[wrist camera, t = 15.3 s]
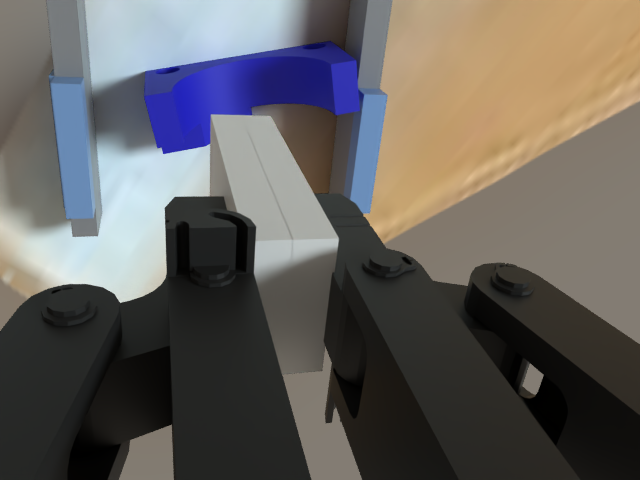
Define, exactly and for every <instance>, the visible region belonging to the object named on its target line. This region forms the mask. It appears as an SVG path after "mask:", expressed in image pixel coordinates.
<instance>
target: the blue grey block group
mask: <svg viewBox="0 0 640 480" xmlns="http://www.w3.org/2000/svg"><path fill="white" fill-rule="evenodd" d="M46 4H47V13H48V21H49V31H50V40H51V49H52V58H53V66H54V69H53V70H52V72H51V73H50V75H49V83H50V91H51V100H52V108H53V117H54V126H55V134H56V143H57V151H58V160H59V168H60V177H61V185H62V194H63V202H64V208H65V212H66V219H71V226H72V235H73V237H81V236H98V233H99V228H100V222H101V216H102V204H101V192H100V180H99V169H98V157H97V145H96V133H95V121H94V109H93V98H92V86H91V74H90V62H89V50H88V38H87V26H86V15H85V3H84V0H46ZM391 6H392V0H350V8H349V17H348V26H347V35H346V44H345V52H346V53H347V54H349V55H350V56H351V57H353V58H354V59H355V60H356V64H357V78H358V92H359V105H360V111H356V112H351V113H346V114H340V115H337V123H336V132H335V141H334V150H333V159H332V168H331V177H330V185H329V194H331V193H340V194H342V195H343V196H345V197H346V198H348V199H350V200H351V201H353V202H354V203H356V205H357V206H358V208H359V209H360V210H361V212H362V213H370V208H371V202H372V195H373V188H374V182H375V175H376V168H377V162H378V155H379V149H380V142H381V135H382V129H383V122H384V115H385V109H386V102H387V96H388V95H387V94H385V93H384V92H383V91H382V90H380V83H381V76H382V69H383V62H384V55H385V48H386V41H387V34H388V27H389V20H390V13H391Z"/></svg>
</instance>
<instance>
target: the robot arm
mask: <svg viewBox="0 0 640 480" xmlns="http://www.w3.org/2000/svg"><path fill="white" fill-rule="evenodd" d="M165 228H166V262H167V275H166V279H165V280H164V282H163V283H162V284H161V285H160V286H159V287H158V288H157V289H156V290H154V291H153V292H151V293H149V294H147V295H145V296H143V297H140V298H137V299H134V300H131V301H127V302H123V303H120V302H119V301H118V299H117V298H116V296H115V294H113V293H112V292H110V291H108V290H106V289H104V288H103V287H98V286H93V285H88V284H68V285H61V286H57V287H53V288H50V289H47V290H44V291H42V292H40V293H38V294H36V295H33V296H31V297H30V298H29V299H28V300H27V301H25V302H24V303H23V304H22V305H21V306H20V307H19V308H18V309H17V311H16V312H15V313H14V314H13V316H12V317H11V318H10V319H9V321H8V322H7V323H6V324H5V326H4V327H3V328H2V330H1V331H0V480H119V477H120V474H121V472H122V469H123V466H124V463H125V461H126V458H127V455H128V452H129V445H130V440H131V439H134V438H137V437H139V436H142V435H145V434H147V433H150V432H153V431H155V430H158V429H161V428H164V427H166V426H169V425H172V442H173V468H174V480H311V477H310V474H309V470H308V466H307V463H306V459H305V455H304V452H303V448H302V445H301V441H300V437H299V434H298V430H297V427H296V423H295V419H294V416H293V412H292V409H291V405H290V401H289V398H288V394H287V391H286V387H285V383H284V380H283V376H282V374H292V373H304V372H315V371H322V368H323V360H324V352H325V346H326V349H327V351H328V354H329V357H330V359H331V362H332V366H331V373H330V380H329V388H328V395H327V403H326V410H325V420H326V423H331V422H332V417H333V410H334V409H335V407H336V408H337V411H338V414H339V416H340V421H341V422H342V425H343V427H344V430H345V433H346V436H347V439H348V441H349V444H350V447H351V449H352V452H353V455H354V458H355V461H356V463H357V466H358V469H359V472H360V475H361V477H362V480H640V344H638V343H637V342H635V341H634V340H632V339H631V338H630V337H628V336H627V335H625V334H624V333H622V332H620V331H619V330H618V329H616V328H615V327H613V326H612V325H610V324H609V323H607V322H606V321H604V320H603V319H601V318H600V317H598V316H597V315H596V314H594V313H593V312H591V311H590V310H588V309H587V308H585V307H584V306H582V305H580V304H579V303H578V302H576V301H575V300H573V299H572V298H571V297H569V296H568V295H566V294H565V293H563V292H562V291H560V290H559V289H557V288H556V287H554V286H553V285H551V284H550V283H548V282H547V281H545V280H544V279H543V278H541V277H539V276H538V275H536V274H534V273H532V272H530V271H528V270H526V269H523V268H520V267H517V266H516V265H513V264H508V263H507V264H505V263H491V264H483V265H481V266H478V267H476V268H475V269H474V270H473V272H472V273H471V276H470V280H469V284H468V286H464V285H457V284H449V283H442V282H437V281H433V280H432V279H431V278H430V276H429V275H428V274H427V272H426V271H425V270H424V268H423V267H422V266H421V265H420V264H419V263H418V262H417V261H416V260H415V259H414V258H412V257H410V256H408V255H406V254H404V253H402V252H399V251H395V250H390V249H387V248H386V247H385V246H384V244H383V243H382V241H381V240H380V238H379V237H378V235H377V234H376V232H375V231H374V230H373V228H372V227H371V226H370V224H369V222H368V221H367V219H366V218H365V217H363V213H362V212H361V210H360V209H359V208H358V206H357V205H356V203H354V202H353V201H351V200H350V199H348V198H346V197H345V196H343V195H342V194H340V193H331V194H314V193H313V191H312V189H311V188H310V186H309V184H308V182H307V180H306V179H305V177H304V175H303V173H302V171H301V170H300V168H299V166H298V164H297V163H296V161H295V159H294V157H293V155H292V154H291V152H290V150H289V148H288V146H287V145H286V143H285V141H284V139H283V137H282V136H281V134H280V132H279V130H278V128H277V127H276V125H275V123H274V121H273V120H272V118H271V116H255V115H214V114H211V131H210V196H209V197H174V198H173V200H172V201H171V202H170V203H169V204H168V205H167V206H166V207H165ZM530 363H531V364H532V365H533V366H534V367H535V368H536V369H538V370H539V371H540V372H541V373H542V374H544V376H543V379H542V382H541V385H540V388H539V390H538V393H537V394H536V395H534V394H531V393H530V392H529V391H527V390H526V389H525V388H524V387H522V385H523V382H524V379H525V376H526V373H527V370H528V367H529V364H530Z"/></svg>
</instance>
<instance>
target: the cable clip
mask: <svg viewBox="0 0 640 480" xmlns="http://www.w3.org/2000/svg"><path fill="white" fill-rule="evenodd" d="M144 98H145V102H146V106H147V110H148V114H149V117H150V121H151V125H152V129H153V133H154V136H155V140H156V144H157V148H161V147H162V151H163V154H166V153H171V152H177V151H182V150H188V149H193V148H198V147H204V146H207V145H208V144H210V131H211V114H214V115H252V111H251V107H254V106H260V105H269V104H306V105H313V106H318V107H322V108H324V109H327V110H329V111H331V112H332V113H334V114H335V115H340V114H346V113H351V112H356V111H360V105H359V92H358V78H357V64H356V60H355V59H354V58H353V57H351V56H350V55H349V54H347V53H346V52H345V51H343V50H342V49H341V48H339V47H338V46H337V45H335V44H334V43H333V42H331V41H327V42H321V43H315V44H309V45H303V46H297V47H291V48H284V49H278V50H272V51H266V52H260V53H254V54H248V55H242V56H236V57H230V58H223V59H217V60H211V61H205V62H199V63H193V64H187V65H181V66H175V67H169V68H162V69H156V70H150V71H145V88H144Z"/></svg>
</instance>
